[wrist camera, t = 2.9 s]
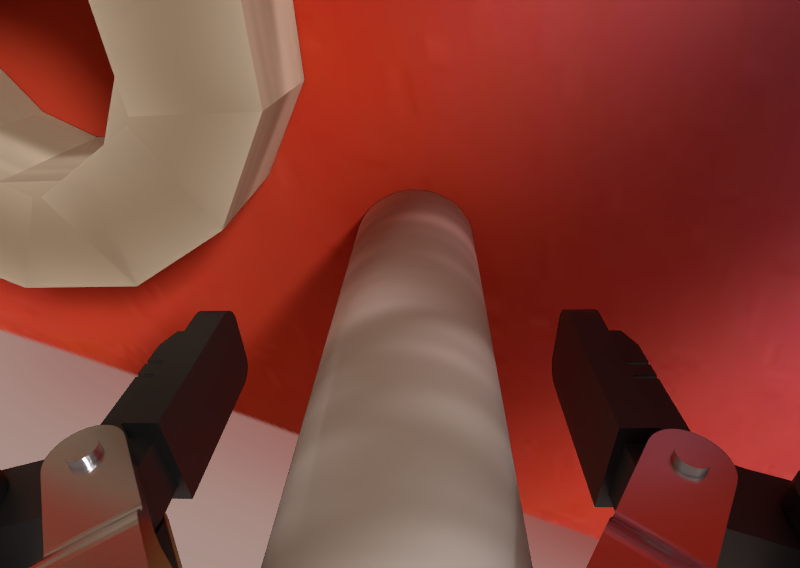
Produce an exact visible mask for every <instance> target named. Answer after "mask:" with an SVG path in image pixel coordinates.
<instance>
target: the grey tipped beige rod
mask: <svg viewBox="0 0 800 568" xmlns="http://www.w3.org/2000/svg"><path fill="white" fill-rule="evenodd" d="M261 568H533V567H532V562H531V556H530V551H529V545H528V540H527V534H526V529H525V523H524V518H523V512H522V506H521V501H520V495H519V489H518V484H517V478H516V473H515V467H514V462H513V456H512V451H511V445H510V439H509V434H508V428H507V423H506V417H505V412H504V406H503V401H502V395H501V390H500V384H499V378H498V373H497V367H496V362H495V356H494V351H493V345H492V340H491V334H490V328H489V323H488V317H487V312H486V306H485V301H484V295H483V290H482V284H481V278H480V273H479V267H478V262H477V256H476V251H475V245H474V240H473V234H472V229H471V226H470V224H469V222H468V220H467V218H466V216H465V215H464V213H463V212H462V211H461V210H460V209H459V208H458V207H457V206H456V205H455V204H454V203H453V202H451V201H450V200H448V199H447V198H445V197H443V196H441V195H439V194H436V193H433V192H429V191H424V190H405V191H400V192H396V193H393V194H390V195H388V196H386V197H384V198H382V199H381V200H379V201H378V202H376V203H375V204H374V205H373V206H372V207H371V208H370V209H369V210H368V211H367V213H366V214H365V216H364V217H363V219H362V221H361V223H360V226H359V229H358V232H357V236H356V239H355V243H354V246H353V250H352V253H351V257H350V260H349V264H348V267H347V271H346V274H345V278H344V281H343V285H342V288H341V291H340V295H339V298H338V302H337V305H336V309H335V312H334V316H333V319H332V323H331V326H330V330H329V333H328V337H327V340H326V344H325V347H324V351H323V354H322V358H321V361H320V365H319V368H318V372H317V375H316V378H315V382H314V385H313V389H312V392H311V396H310V399H309V403H308V406H307V410H306V413H305V417H304V420H303V424H302V427H301V431H300V434H299V438H298V441H297V445H296V448H295V452H294V455H293V459H292V462H291V466H290V469H289V472H288V476H287V480H286V483H285V487H284V490H283V494H282V497H281V500H280V504H279V507H278V511H277V515H276V518H275V521H274V525H273V528H272V532H271V535H270V539H269V542H268V546H267V549H266V552H265V556H264V559H263V563H262V567H261Z"/></svg>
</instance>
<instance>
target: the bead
mask: <svg viewBox="0 0 800 568" xmlns="http://www.w3.org/2000/svg"><path fill="white" fill-rule="evenodd" d="M88 1H89V4H90V7H91V10H92V13H93V16H94V18H95V21H96V24H97V27H98V30H99V33H100V36H101V39H102V42H103V44H104V47H105V50H106V53H107V56H108V59H109V62H110V65H111V68H112V71H113V73H114V76H115V78H114V84H113V90H112V96H111V103H110V109H109V115H108V121H107V127H106V134H105V137H95V136H93V135H91V134H89V133H87V132H85V131H83V130H80V129H78V128H76V127H74V126H72V125H70V124H67V123H65V122H63V121H61V120H59V119H57V118H55V117H52V116H50V115H48V114H46V113H44V112H42V111H41V110H40V109H39V107H38V106H37V105H36V104H35V103H34V102H33V101H32V100H31V99H30V98H29V97H28V96H27V95H26V94H25V93H24V92H23V91H22V90H21V89H20V88H19V87H18V86H17V85H16V84H15V83H14V82H13V81H12V80H11V79H10V78H9V77H8V76H7V75H6V74H5V73H4V72H3V71H2V70H1V69H0V278H1V279H4V280H7V281H9V282H12V283H14V284H17V285H19V286H22V287H25V288H45V287H124V286H138V285H140V284H141V283H143V282H144V281H146V280H148V279H149V278H151V277H152V276H154V275H155V274H157V273H158V272H160V271H161V270H163V269H164V268H166V267H167V266H169V265H170V264H172V263H173V262H175V261H176V260H178V259H180V258H181V257H183V256H184V255H186V254H187V253H189V252H190V251H192V250H193V249H195V248H196V247H198V246H199V245H201V244H202V243H204V242H205V241H207V240H208V239H210V238H212V237H213V236H215V235H216V234H218V233H219V232H221V231H222V230H223V229H224V228H225V227H226V225H227V224H228V223H229V222H230V221H231V220H232V218H233V217H234V216H235V215H236V214H237V212H238V211H239V210H240V209H241V208H242V206H243V205H244V204H245V203H246V202H247V201H248V199H249V198H250V197H251V196H252V195H253V193H254V192H255V191H256V190H257V189H258V188H259V186H260V185H261V184H262V183H263V182H264V180H265V179H266V178H267V177H268V176H269V173H270V170H271V168H272V165H273V162H274V160H275V157H276V154H277V152H278V149H279V146H280V144H281V141H282V138H283V136H284V133H285V130H286V127H287V125H288V122H289V119H290V117H291V114H292V111H293V109H294V106H295V103H296V101H297V98H298V95H299V93H300V90H301V87H302V85H303V82H304V75H303V68H302V61H301V54H300V47H299V40H298V34H297V27H296V20H295V13H294V6H293V0H88Z"/></svg>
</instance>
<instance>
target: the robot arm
mask: <svg viewBox="0 0 800 568" xmlns="http://www.w3.org/2000/svg"><path fill="white" fill-rule="evenodd" d="M247 370H248V363H247V357H246V353H245V350H244V346H243V342H242V339H241V335H240V332H239V328H238V324H237V321H236V318H235V315H234V314H233V312H231V311H200V312H198V313H197V314H196V315H195V317H194V318H193V319H192V321H191V322H190V324H189V325H188V327H187V328H186V329H185V331H178V332H176V333H175V334H174V335H172V336H171V337H170V338H168V339H167V340H166V341H164V342H163V343H162V344H160V345H159V346H158V348H157V349H156V350H155V352H154V353H153V355H152V356H151V357H150V359H149V360H148V364H145V365H144V367H143V368H142V369H141V371H140V372H139V373H138V377H135V379H134V380H133V382H132V383H131V384H130V386H129V387H128V388H127V390H126V391H125V392H124V394H123V395H122V396H121V398H120V399H119V401H118V402H117V403H116V405H115V406H114V407H113V409H112V410H111V411H110V413H109V414H108V415H107V417H106V418H105V419H104V421H103V422H102V423H101V425H98V426H93V427H89V428H86V429H84V430H81V431H79V432H76V433H74V434H73V435H71V436H69V437H68V438H66V439H64V440H63V441H62V442H60V443H59V444H58V445H57V446H56V447H55V448H54V449H53V450H52V451H51V452H50V453H49V454H48V456H47V457H46V458H45V460H41V461H37V462H33V463H30V464H26V465H21V466H17V467H13V468H9V469H5V470H0V568H182V565H181V561H180V558H179V554H178V551H177V548H176V544H175V541H174V537H173V534H172V530H171V527H170V523H169V519H168V517H167V515H166V513H165V512H166V510H167V507H168V505H169V503H170V501H171V499H172V498H178V499H192V498H193V496H194V494H195V492H196V490H197V488H198V486H199V483H200V481H201V479H202V477H203V475H204V472H205V470H206V468H207V466H208V463H209V461H210V459H211V457H212V454H213V452H214V450H215V448H216V446H217V444H218V441H219V439H220V437H221V435H222V432H223V430H224V428H225V426H226V424H227V421H228V419H229V417H230V415H231V413H232V410H233V408H234V406H235V404H236V402H237V399H238V397H239V395H240V393H241V391H242V388H243V386H244V384H245V381H246V377H247ZM552 376H553V382H554V386H555V389H556V392H557V395H558V398H559V401H560V404H561V407H562V410H563V413H564V416H565V419H566V422H567V425H568V428H569V431H570V434H571V437H572V440H573V443H574V446H575V449H576V452H577V455H578V458H579V461H580V464H581V467H582V470H583V473H584V476H585V479H586V482H587V485H588V488H589V491H590V494H591V497H592V500H593V503H594V506H595V507H614V510H615V513H614V515H613V517H611V518H610V519H609V521H608V523H607V525H606V527H605V529H604V531H603V533H602V535H601V538H600V540H599V542H598V544H597V546H596V548H595V551H594V553H593V555H592V557H591V559H590V561H589V563H588V565H587V568H800V471H798V473H797V474H796V476H795V477H794V479H793V480H792V481H790V480H786V479H782V478H779V477H775V476H771V475H767V474H763V473H760V472H756V471H752V470H748V469H745V468H742V467H738V466H736V465H734V463H733V462H732V460H731V459H730V458H729V456H728V455H727V454H726V453H725V452H724V451H723V450H722V449H721V448H720V447H718V446H717V445H716V444H715V443H713V442H711V441H710V440H708V439H707V438H705V437H703V436H701V435H698V434H696V433H693V432H691V431H690V430H689V428H688V426H687V425H686V423H685V421H684V420H683V418H682V416H681V415H680V413H679V411H678V410H677V408H676V406H675V405H674V403H673V402H672V400H671V398H670V397H669V395H668V393H667V392H666V390H665V388H664V387H663V385H662V383H661V382H660V380H659V379H657V375H656V373H655V372H654V370H653V368H652V367H651V365H648V360H647V359H646V357H645V355H644V354H643V352H642V350H641V349H640V347H639V345H638V344H637V343H635V342H634V341H633V340H632V339H630V338H629V337H628V336H627V335H625V334H624V333H623V332H622V331H609V330H608V328H607V326H606V325H605V323H604V321H603V319H602V317H601V315H600V314H599V312H598V311H597V310H595V309H587V310H563V311H562V312H561V314H560V318H559V324H558V329H557V335H556V341H555V346H554V352H553V358H552Z"/></svg>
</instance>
